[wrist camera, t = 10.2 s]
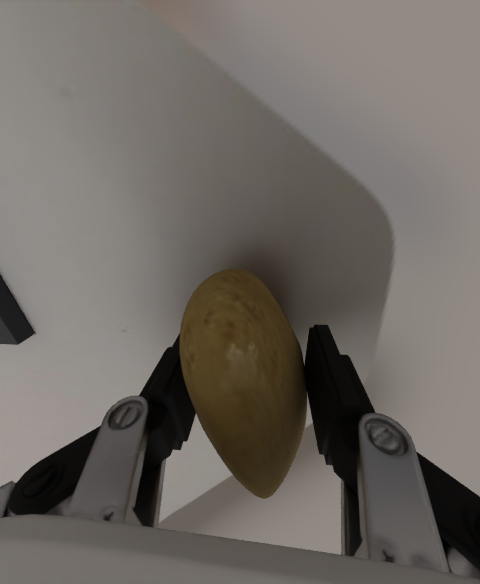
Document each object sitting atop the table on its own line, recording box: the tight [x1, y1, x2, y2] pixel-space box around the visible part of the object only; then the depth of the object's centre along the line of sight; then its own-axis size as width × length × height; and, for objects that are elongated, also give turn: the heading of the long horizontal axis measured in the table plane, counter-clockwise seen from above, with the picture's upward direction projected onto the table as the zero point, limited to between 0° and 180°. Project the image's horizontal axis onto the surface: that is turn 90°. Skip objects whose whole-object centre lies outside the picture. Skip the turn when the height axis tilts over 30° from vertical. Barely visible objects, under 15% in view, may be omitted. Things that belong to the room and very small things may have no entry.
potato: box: [180, 268, 307, 498], centre depth 9 cm, size 7×8×8 cm
